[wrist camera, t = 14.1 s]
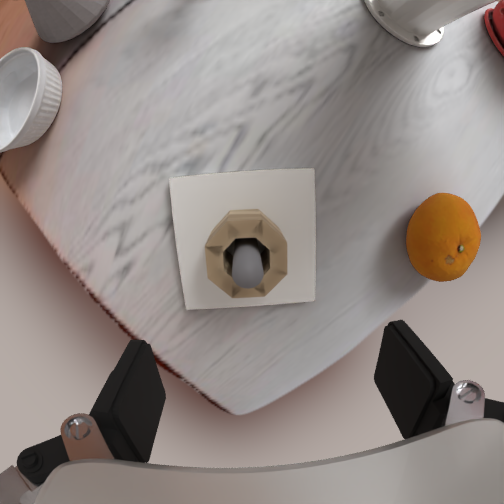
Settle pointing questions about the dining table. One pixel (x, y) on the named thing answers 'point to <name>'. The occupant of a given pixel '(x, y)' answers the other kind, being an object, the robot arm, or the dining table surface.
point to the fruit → (443, 237)
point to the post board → (238, 196)
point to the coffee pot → (64, 17)
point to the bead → (221, 260)
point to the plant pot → (496, 25)
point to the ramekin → (27, 97)
